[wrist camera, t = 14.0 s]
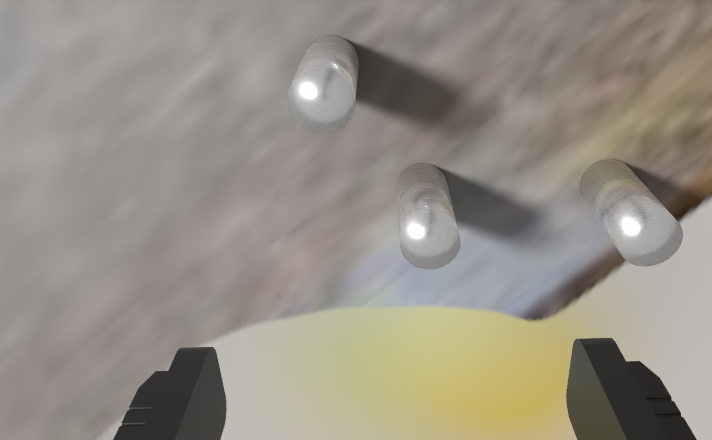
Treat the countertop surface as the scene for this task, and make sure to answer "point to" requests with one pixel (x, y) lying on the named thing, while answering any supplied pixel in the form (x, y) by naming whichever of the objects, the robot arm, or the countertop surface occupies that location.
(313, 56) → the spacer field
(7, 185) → the countertop surface
